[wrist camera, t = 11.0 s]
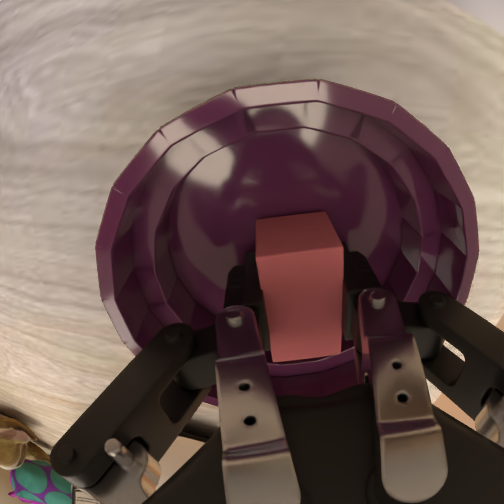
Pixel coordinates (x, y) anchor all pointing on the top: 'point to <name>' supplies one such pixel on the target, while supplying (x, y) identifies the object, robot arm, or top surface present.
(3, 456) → the ceramic sculpture
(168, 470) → the milk container
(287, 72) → the top surface
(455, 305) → the robot arm
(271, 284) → the eraser
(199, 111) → the bowl
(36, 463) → the pencil case
